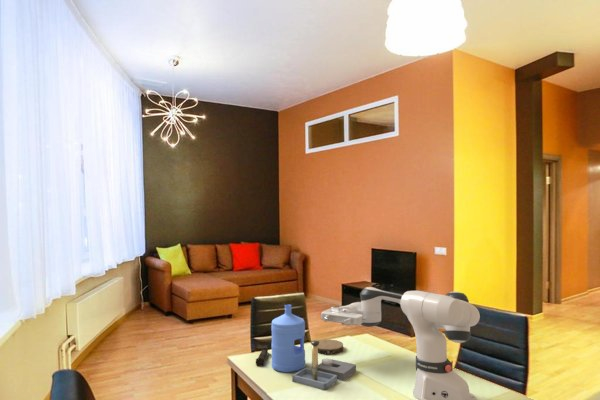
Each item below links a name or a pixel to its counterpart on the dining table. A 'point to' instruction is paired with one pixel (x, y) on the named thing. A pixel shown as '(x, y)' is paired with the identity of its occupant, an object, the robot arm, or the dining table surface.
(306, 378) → the tray
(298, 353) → the water jug
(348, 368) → the block
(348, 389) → the dining table surface
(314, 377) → the lock pin
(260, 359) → the hand tool
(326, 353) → the brown round disc
